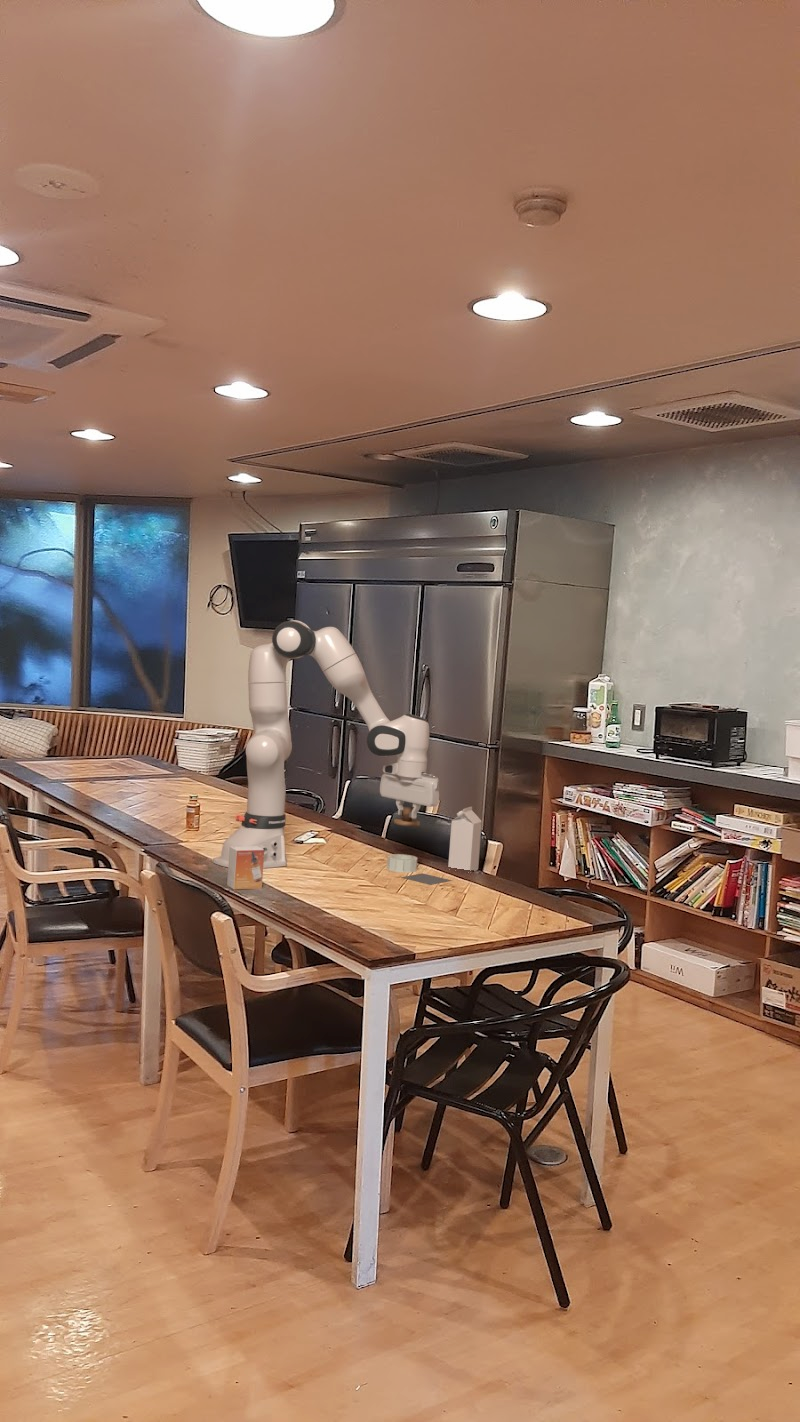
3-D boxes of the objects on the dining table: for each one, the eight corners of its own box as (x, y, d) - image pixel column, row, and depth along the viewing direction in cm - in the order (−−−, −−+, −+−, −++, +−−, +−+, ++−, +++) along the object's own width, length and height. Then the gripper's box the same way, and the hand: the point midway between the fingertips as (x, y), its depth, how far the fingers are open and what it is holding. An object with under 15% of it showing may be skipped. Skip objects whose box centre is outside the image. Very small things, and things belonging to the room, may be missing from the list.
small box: (233, 890, 284) (235, 850, 283) (226, 885, 289) (228, 846, 288) (262, 889, 288) (265, 849, 287) (255, 884, 293) (257, 845, 292)
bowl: (403, 875, 317) (404, 861, 316) (381, 869, 322) (382, 856, 322) (422, 871, 323) (423, 858, 323) (399, 866, 329) (400, 853, 328)
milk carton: (478, 870, 331) (482, 808, 330) (469, 873, 325) (474, 810, 324) (456, 866, 334) (461, 805, 333) (447, 870, 328) (452, 807, 326)
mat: (430, 886, 304) (430, 884, 304) (400, 878, 311) (400, 877, 311) (452, 881, 312) (452, 880, 312) (422, 874, 319) (422, 873, 319)
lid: (408, 827, 315) (409, 810, 314) (388, 822, 320) (389, 805, 319) (424, 825, 321) (426, 808, 320) (405, 820, 325) (406, 804, 325)
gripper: (445, 775, 315) (441, 822, 316) (392, 765, 328) (388, 810, 329) (432, 775, 310) (427, 823, 311) (378, 765, 323) (374, 811, 324)
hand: (407, 816), depth 320 cm, fingers closed on lid, 3 cm apart
